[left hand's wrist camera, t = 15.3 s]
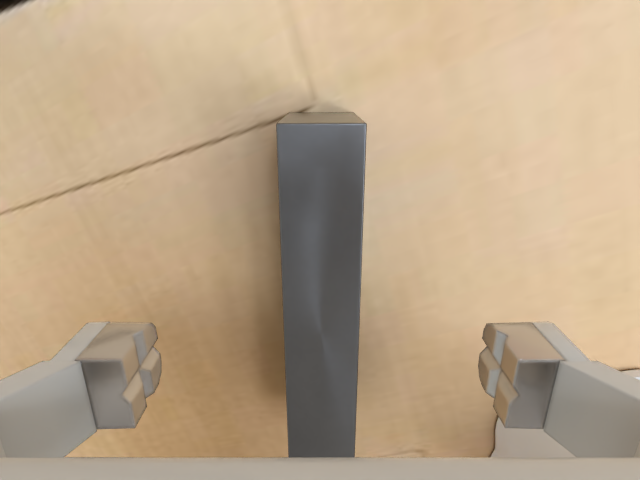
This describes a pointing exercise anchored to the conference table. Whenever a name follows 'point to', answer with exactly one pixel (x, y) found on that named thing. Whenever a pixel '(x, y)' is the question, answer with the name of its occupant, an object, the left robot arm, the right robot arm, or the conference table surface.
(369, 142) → the conference table surface
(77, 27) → the conference table surface
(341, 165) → the bar
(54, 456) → the left robot arm
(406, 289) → the conference table surface
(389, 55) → the conference table surface
